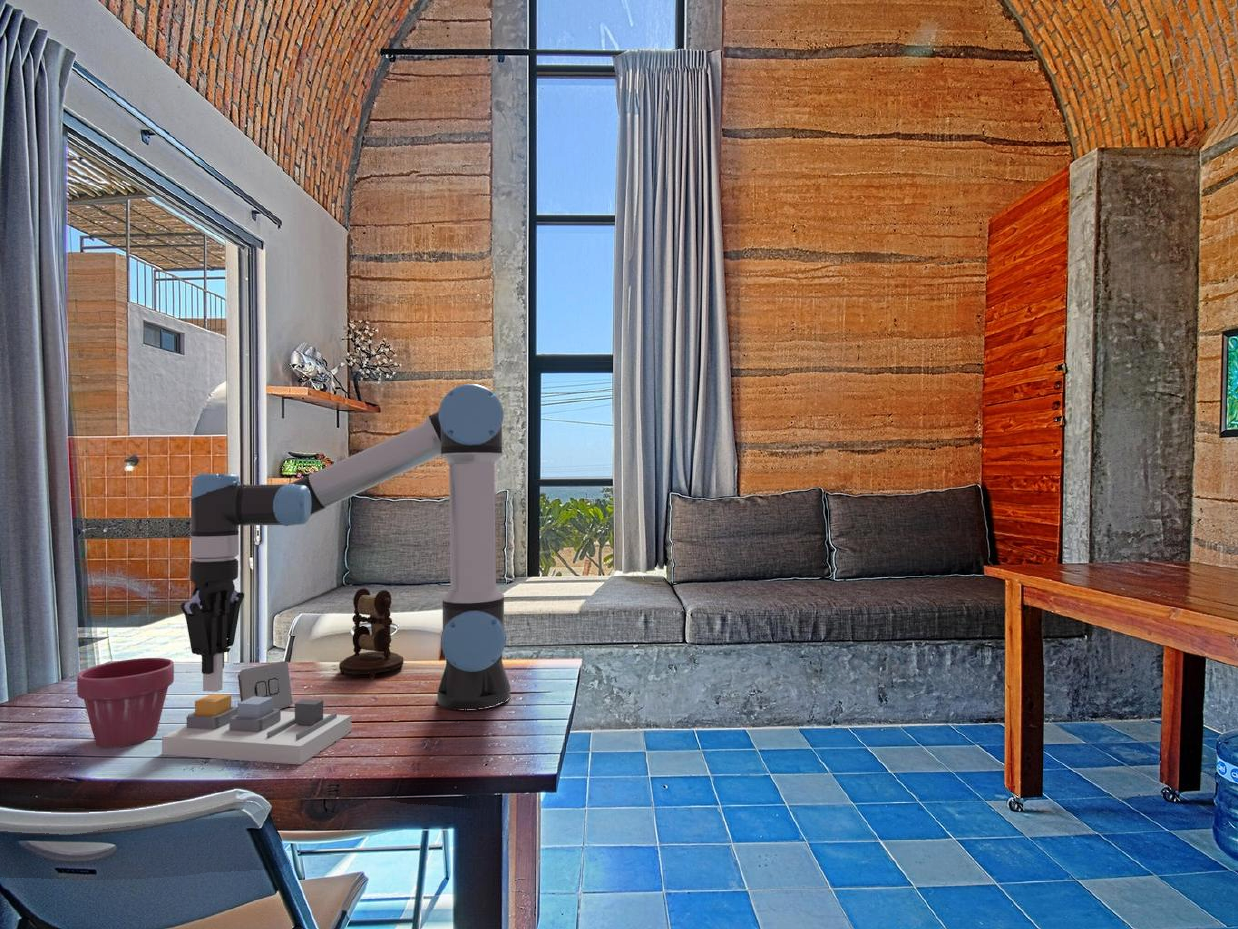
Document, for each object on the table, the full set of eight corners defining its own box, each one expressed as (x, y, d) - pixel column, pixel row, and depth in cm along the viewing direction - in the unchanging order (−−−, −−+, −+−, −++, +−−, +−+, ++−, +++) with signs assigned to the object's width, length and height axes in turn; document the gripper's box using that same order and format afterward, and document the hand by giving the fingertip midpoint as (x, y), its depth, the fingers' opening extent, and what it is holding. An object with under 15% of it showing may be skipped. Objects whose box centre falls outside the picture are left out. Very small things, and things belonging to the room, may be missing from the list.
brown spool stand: (416, 667, 173) (416, 586, 173) (372, 683, 160) (373, 595, 160) (370, 661, 179) (371, 583, 180) (325, 676, 166) (325, 591, 166)
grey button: (273, 712, 125) (273, 697, 125) (257, 719, 121) (258, 704, 121) (253, 710, 126) (253, 696, 126) (237, 718, 122) (237, 703, 122)
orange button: (231, 709, 127) (231, 695, 127) (214, 716, 123) (215, 702, 123) (211, 708, 127) (211, 694, 127) (194, 715, 123) (195, 701, 123)
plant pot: (64, 759, 116) (65, 682, 117) (89, 731, 129) (90, 662, 129) (165, 745, 122) (166, 672, 122) (179, 720, 135) (180, 654, 135)
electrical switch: (246, 719, 136) (244, 670, 137) (234, 716, 139) (233, 668, 140) (293, 707, 143) (291, 661, 144) (281, 704, 146) (280, 659, 147)
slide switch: (323, 720, 125) (323, 700, 125) (315, 725, 123) (315, 704, 123) (303, 719, 126) (303, 699, 126) (294, 723, 123) (294, 703, 123)
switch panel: (351, 731, 128) (351, 704, 128) (300, 764, 114) (300, 733, 114) (226, 724, 133) (226, 697, 133) (161, 754, 118) (162, 724, 118)
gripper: (222, 554, 133) (220, 679, 132) (167, 562, 120) (165, 700, 119) (257, 555, 131) (256, 681, 131) (205, 563, 119) (203, 702, 118)
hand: (212, 690), depth 125 cm, fingers closed
